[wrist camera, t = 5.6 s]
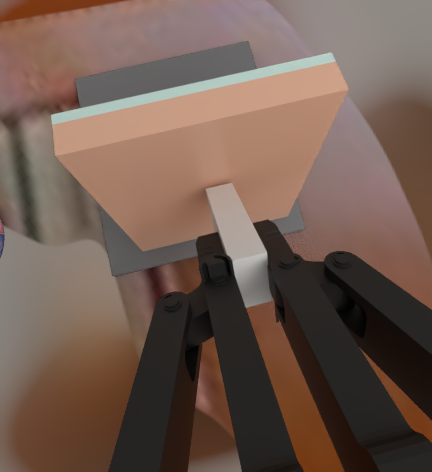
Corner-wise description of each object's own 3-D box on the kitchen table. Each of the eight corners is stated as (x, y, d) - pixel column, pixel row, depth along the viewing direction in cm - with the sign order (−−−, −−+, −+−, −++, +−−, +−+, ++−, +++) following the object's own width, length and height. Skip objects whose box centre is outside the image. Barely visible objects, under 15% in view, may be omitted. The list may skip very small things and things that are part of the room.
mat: (302, 230, 27) (305, 228, 27) (115, 276, 27) (112, 275, 26) (247, 47, 31) (248, 41, 30) (78, 84, 30) (74, 78, 29)
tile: (287, 216, 27) (348, 89, 13) (142, 251, 26) (55, 156, 13) (280, 194, 27) (331, 52, 14) (138, 228, 27) (51, 114, 13)
